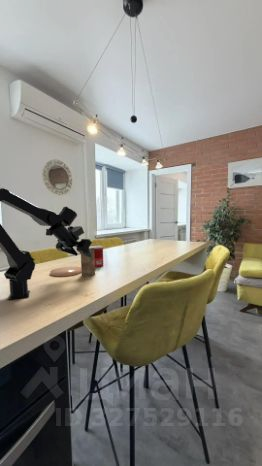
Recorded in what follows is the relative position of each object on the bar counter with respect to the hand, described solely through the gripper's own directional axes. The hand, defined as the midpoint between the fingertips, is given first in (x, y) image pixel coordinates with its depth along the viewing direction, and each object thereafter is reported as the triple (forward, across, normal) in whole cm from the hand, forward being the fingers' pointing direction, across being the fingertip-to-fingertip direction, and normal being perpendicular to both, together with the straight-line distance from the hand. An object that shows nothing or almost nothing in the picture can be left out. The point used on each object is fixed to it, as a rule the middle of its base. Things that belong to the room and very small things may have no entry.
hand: (83, 255), depth 103 cm
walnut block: (+8, 0, +5) cm, 10 cm away
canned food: (+20, +11, -6) cm, 24 cm away
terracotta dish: (+7, +13, +7) cm, 16 cm away
